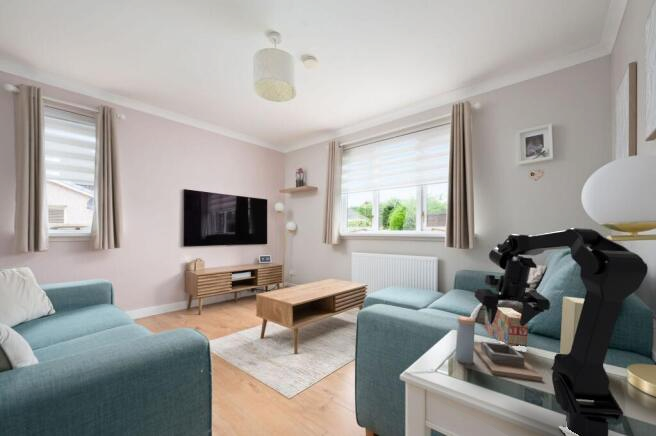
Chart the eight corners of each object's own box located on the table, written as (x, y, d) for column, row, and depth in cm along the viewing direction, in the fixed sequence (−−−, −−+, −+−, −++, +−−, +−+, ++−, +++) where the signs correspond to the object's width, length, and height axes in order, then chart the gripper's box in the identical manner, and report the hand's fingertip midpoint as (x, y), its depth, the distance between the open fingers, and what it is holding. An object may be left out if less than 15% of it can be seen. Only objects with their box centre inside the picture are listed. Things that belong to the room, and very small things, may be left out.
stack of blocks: (483, 329, 116) (485, 300, 116) (500, 330, 115) (501, 301, 115) (507, 351, 95) (508, 316, 95) (527, 354, 94) (528, 318, 94)
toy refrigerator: (602, 376, 81) (604, 305, 82) (571, 370, 84) (574, 302, 84) (586, 363, 89) (589, 299, 89) (559, 358, 91) (561, 296, 92)
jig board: (542, 381, 77) (542, 368, 77) (492, 374, 79) (492, 361, 79) (508, 349, 96) (508, 338, 96) (469, 344, 99) (469, 334, 99)
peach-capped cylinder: (475, 364, 84) (477, 322, 84) (458, 362, 85) (460, 320, 85) (470, 357, 89) (471, 317, 89) (453, 355, 90) (455, 315, 90)
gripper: (530, 267, 86) (520, 311, 89) (470, 264, 87) (462, 308, 90) (557, 283, 75) (545, 333, 79) (488, 279, 76) (479, 328, 79)
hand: (505, 324), depth 82 cm, fingers open, 9 cm apart
